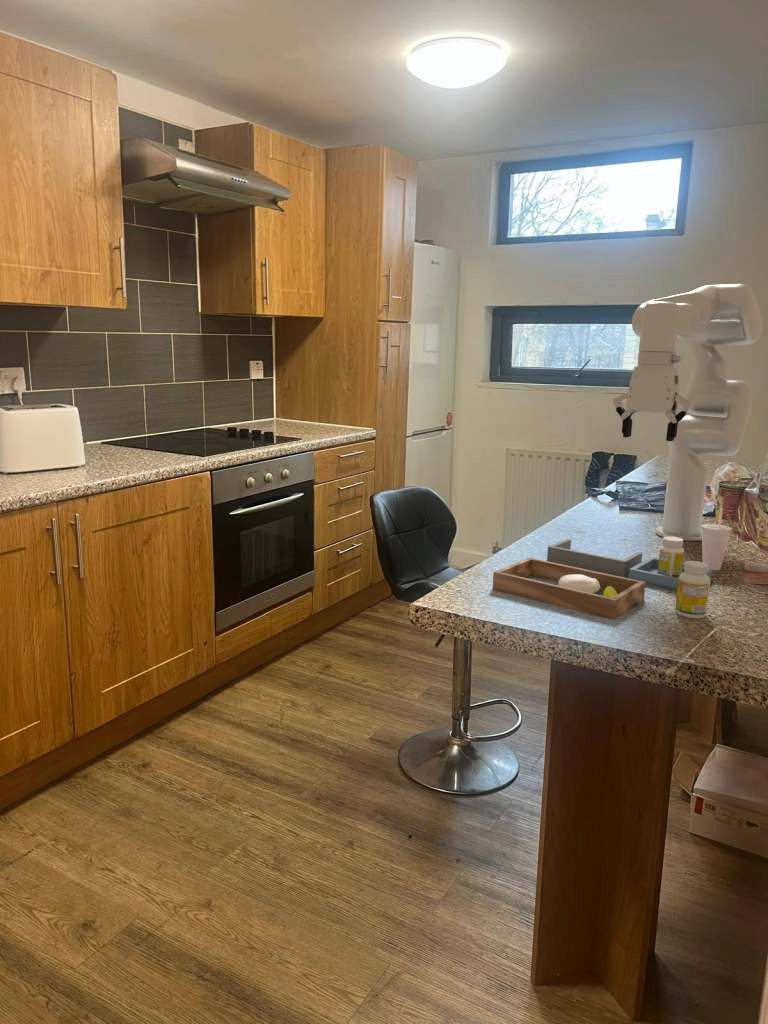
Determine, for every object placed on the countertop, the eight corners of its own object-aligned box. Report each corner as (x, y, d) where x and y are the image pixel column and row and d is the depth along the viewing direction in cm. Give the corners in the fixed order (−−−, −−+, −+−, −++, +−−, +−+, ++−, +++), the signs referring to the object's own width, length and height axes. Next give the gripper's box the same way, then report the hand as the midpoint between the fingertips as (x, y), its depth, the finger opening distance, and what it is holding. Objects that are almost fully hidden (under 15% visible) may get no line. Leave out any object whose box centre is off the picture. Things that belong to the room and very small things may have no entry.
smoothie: (730, 573, 161) (738, 511, 158) (699, 571, 163) (706, 509, 160) (723, 565, 167) (730, 505, 165) (693, 563, 169) (700, 504, 166)
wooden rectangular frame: (528, 573, 158) (529, 557, 157) (644, 599, 142) (645, 581, 142) (492, 589, 146) (493, 572, 146) (613, 619, 131) (615, 600, 130)
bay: (566, 553, 175) (567, 538, 174) (640, 568, 164) (642, 552, 163) (546, 561, 167) (547, 546, 167) (623, 577, 156) (625, 561, 156)
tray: (649, 567, 164) (651, 557, 164) (710, 579, 156) (712, 568, 156) (628, 580, 154) (629, 569, 154) (691, 594, 146) (693, 582, 146)
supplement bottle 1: (680, 575, 157) (684, 537, 155) (682, 581, 152) (686, 542, 151) (656, 572, 158) (660, 535, 157) (657, 578, 154) (661, 539, 152)
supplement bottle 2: (700, 621, 131) (707, 569, 129) (670, 614, 134) (676, 563, 132) (710, 613, 135) (716, 563, 133) (680, 607, 138) (686, 558, 136)
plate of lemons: (587, 602, 141) (588, 587, 141) (607, 593, 147) (609, 580, 146) (626, 612, 136) (627, 598, 135) (645, 603, 141) (647, 589, 141)
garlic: (596, 590, 148) (597, 572, 147) (602, 601, 141) (604, 582, 141) (555, 588, 149) (557, 570, 148) (560, 598, 142) (561, 580, 141)
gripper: (702, 361, 158) (693, 441, 161) (623, 360, 168) (617, 434, 172) (691, 361, 152) (682, 443, 156) (610, 359, 163) (604, 436, 166)
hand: (648, 438), depth 164 cm, fingers open, 9 cm apart
